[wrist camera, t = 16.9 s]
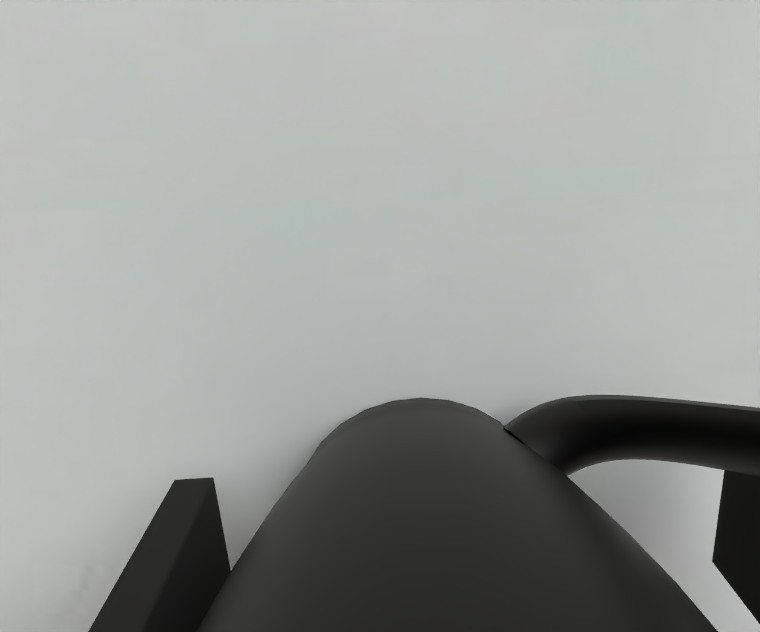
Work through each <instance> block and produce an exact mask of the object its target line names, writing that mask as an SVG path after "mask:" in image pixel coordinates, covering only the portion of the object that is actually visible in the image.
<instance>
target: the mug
mask: <svg viewBox="0 0 760 632" xmlns="http://www.w3.org/2000/svg"><path fill="white" fill-rule="evenodd" d="M624 459H646V460H660V461H670V462H678V463H686V464H693V465H699V466H705V467H711V468H717V469H722V470H728V471H733V472H738V473H743V474H748V475H753V476H758V477H760V408H755V407H746V406H736V405H727V404H717V403H707V402H697V401H687V400H677V399H666V398H654V397H641V396H624V395H585V396H574V397H567V398H562V399H557V400H553V401H550V402H547V403H544V404H541V405H539V406H536V407H534V408H532V409H530V410H528V411H526V412H524V413H523V414H521V415H519V416H518V417H516V418H515V419H514V420H512V421H511V422H510V423H508V424H507V425H506V426H505V427H504V426H503V425H502V424H501V423H500V422H499V421H497V420H495V419H494V418H492V417H490V416H488V415H487V414H485V413H483V412H481V411H480V410H478V409H476V408H473V407H469V406H466V405H463V404H460V403H456V402H453V401H450V400H439V399H428V398H415V399H407V400H398V401H391V402H388V403H385V404H382V405H379V406H376V407H373V408H370V409H367V410H364V411H363V412H361V413H359V414H357V415H356V416H354V417H352V418H350V419H349V420H347V421H345V422H344V423H342V424H340V425H339V426H338V427H337V428H336V429H335V430H334V431H333V432H332V433H331V434H330V435H329V436H327V437H326V438H325V439H324V440H323V441H322V442H321V444H320V445H319V447H318V448H317V450H316V451H315V453H314V454H313V456H312V457H311V459H310V460H309V462H308V463H307V465H306V466H305V467H304V469H303V470H302V471H301V472H300V473H299V475H298V476H297V477H296V478H295V479H294V481H293V482H292V483H291V484H290V486H289V487H288V488H287V489H286V491H285V492H284V493H283V495H282V496H281V497H280V499H279V500H278V501H277V503H276V504H275V505H274V507H273V508H272V510H271V511H270V513H269V514H268V516H267V517H266V519H265V520H264V522H263V523H262V525H261V526H260V528H259V529H258V531H257V532H256V534H255V535H254V537H253V538H252V540H251V541H250V543H249V544H248V546H247V547H246V549H245V550H244V552H243V553H242V555H241V556H240V558H239V560H238V561H237V563H236V564H235V566H234V567H233V569H232V570H231V572H230V573H229V575H228V576H227V578H226V579H225V581H224V583H223V585H222V586H221V588H220V590H219V592H218V594H217V595H216V597H215V599H214V601H213V602H212V604H211V606H210V608H209V609H208V611H207V613H206V615H205V616H204V618H203V620H202V622H201V624H200V625H199V627H198V629H197V631H196V632H718V631H717V630H716V629H715V628H714V627H713V625H712V624H711V623H710V622H709V621H708V619H707V618H706V617H705V616H704V615H703V614H702V612H701V611H700V610H699V609H698V608H697V606H696V605H695V604H694V603H693V602H692V601H691V599H690V598H689V597H688V596H687V595H686V594H685V592H684V591H683V590H682V589H681V588H680V586H679V585H678V584H677V583H676V582H675V581H674V580H673V579H672V578H671V577H670V576H669V575H668V574H667V573H666V572H665V570H664V569H663V568H662V567H661V566H660V565H659V564H658V563H657V562H656V561H655V560H654V559H653V558H652V557H651V556H650V555H649V554H648V553H647V552H646V551H645V550H644V549H643V548H642V547H641V546H640V545H639V544H638V543H637V541H636V540H635V539H634V538H633V537H632V536H631V535H630V534H629V533H628V532H627V531H625V530H624V529H623V528H622V527H621V526H620V525H619V524H618V523H617V522H616V521H615V520H614V519H613V518H612V517H611V516H609V515H608V514H607V513H606V512H605V511H604V510H603V509H602V508H601V507H600V506H599V505H598V504H597V503H596V502H594V501H593V500H592V499H591V498H590V497H589V496H588V495H587V494H586V493H585V492H583V491H582V490H581V489H580V488H579V487H578V486H577V485H576V484H575V483H574V482H572V481H571V480H570V479H569V478H568V477H567V476H568V475H570V474H572V473H573V472H575V471H577V470H580V469H582V468H584V467H587V466H590V465H593V464H597V463H601V462H606V461H613V460H624Z"/></svg>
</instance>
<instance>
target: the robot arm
mask: <svg viewBox="0 0 760 632" xmlns="http://www.w3.org/2000/svg"><path fill="white" fill-rule="evenodd" d="M712 562H713V563H714V564H715V566H716V567H717V568H718V570H719V571H720V572H721V574H722V575H723V576H724V578H725V579H726V580H727V582H728V583H729V584H730V586H731V587H732V588H733V589H734V591H735V592H736V593H737V595H738V596H739V597H740V599H741V600H742V601H743V603H744V604H745V605H746V607H747V608H748V609H749V611H750V612H751V613H752V614H753V616H754V617H755V618H756V620H757V621H758V622H759V624H760V477H758V476H753V475H748V474H743V473H738V472H733V471H728V470H725V471H724V478H723V485H722V493H721V500H720V508H719V515H718V523H717V530H716V537H715V545H714V552H713V560H712ZM230 572H231V570H230V565H229V560H228V554H227V549H226V543H225V538H224V533H223V527H222V522H221V517H220V511H219V506H218V500H217V495H216V490H215V484H214V479H213V478H199V479H183V480H174V482H173V484H172V486H171V487H170V489H169V491H168V493H167V495H166V496H165V498H164V500H163V502H162V503H161V505H160V507H159V509H158V510H157V512H156V514H155V516H154V517H153V519H152V521H151V523H150V524H149V526H148V528H147V530H146V531H145V533H144V535H143V537H142V538H141V540H140V542H139V544H138V545H137V547H136V549H135V551H134V552H133V554H132V556H131V558H130V559H129V561H128V563H127V565H126V566H125V568H124V570H123V572H122V573H121V575H120V577H119V579H118V580H117V582H116V584H115V586H114V588H113V589H112V591H111V593H110V595H109V596H108V598H107V600H106V602H105V603H104V605H103V607H102V609H101V610H100V612H99V614H98V616H97V617H96V619H95V621H94V623H93V624H92V626H91V628H90V630H89V631H88V632H196V631H197V629H198V627H199V625H200V624H201V622H202V620H203V618H204V616H205V615H206V613H207V611H208V609H209V608H210V606H211V604H212V602H213V601H214V599H215V597H216V595H217V594H218V592H219V590H220V588H221V586H222V585H223V583H224V581H225V579H226V578H227V576H228V575H229V573H230Z"/></svg>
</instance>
